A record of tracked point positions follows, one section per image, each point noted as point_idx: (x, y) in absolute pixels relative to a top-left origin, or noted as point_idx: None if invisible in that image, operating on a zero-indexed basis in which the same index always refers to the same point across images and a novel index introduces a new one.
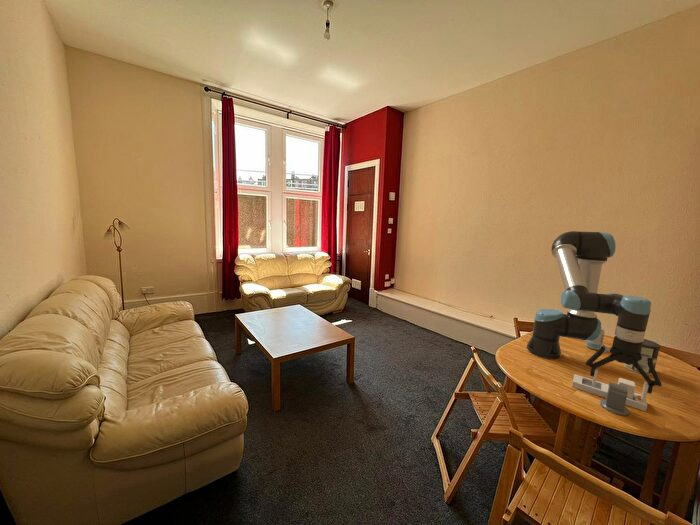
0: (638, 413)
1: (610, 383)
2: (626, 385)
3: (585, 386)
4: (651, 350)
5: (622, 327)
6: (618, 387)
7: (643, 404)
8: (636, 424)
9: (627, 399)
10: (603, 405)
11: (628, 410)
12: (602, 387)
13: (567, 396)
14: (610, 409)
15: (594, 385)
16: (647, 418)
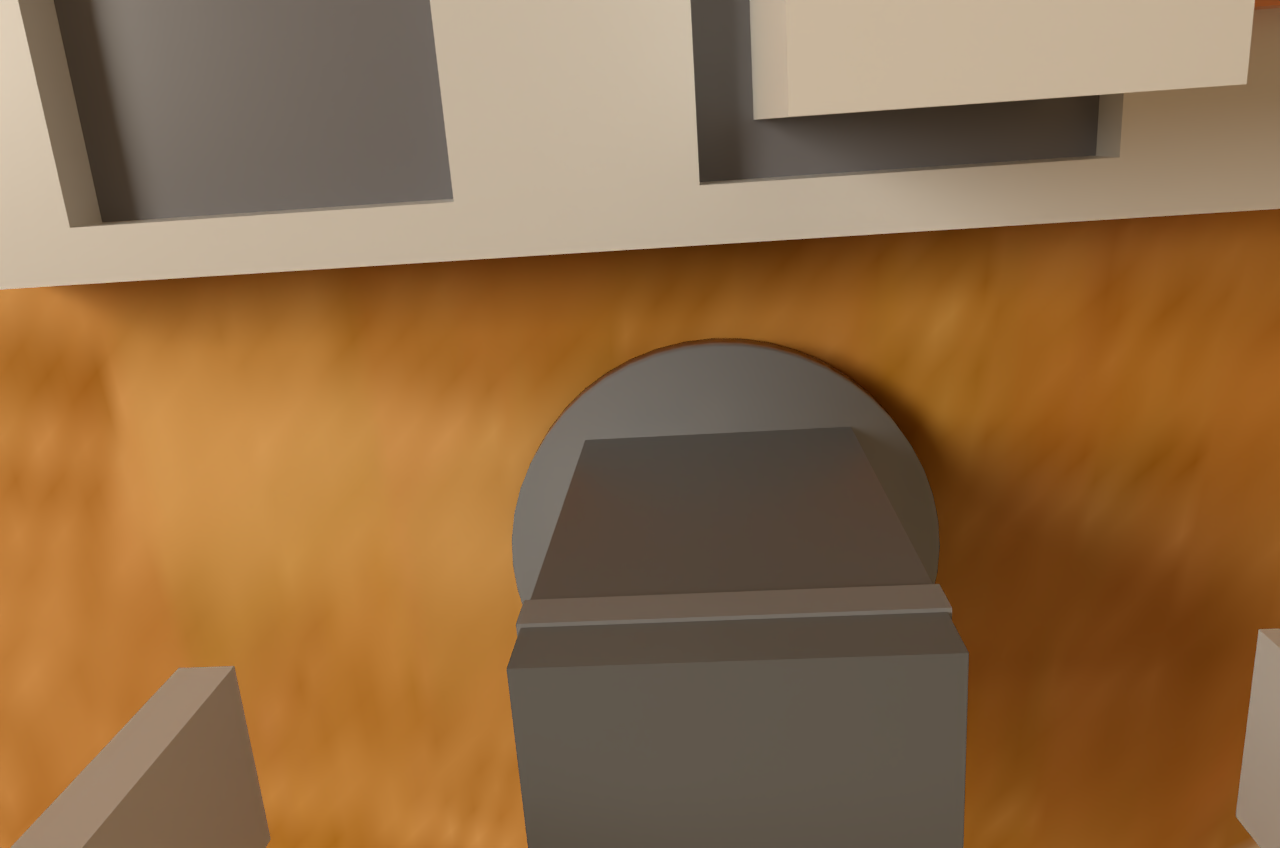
0: (1083, 396)
1: (541, 779)
2: (980, 100)
3: (169, 278)
4: None
5: None
6: None
7: (1243, 206)
8: (1005, 798)
9: (948, 226)
10: None
11: (933, 523)
12: (454, 35)
13: (85, 719)
14: None
15: (257, 844)
16: (1200, 467)
